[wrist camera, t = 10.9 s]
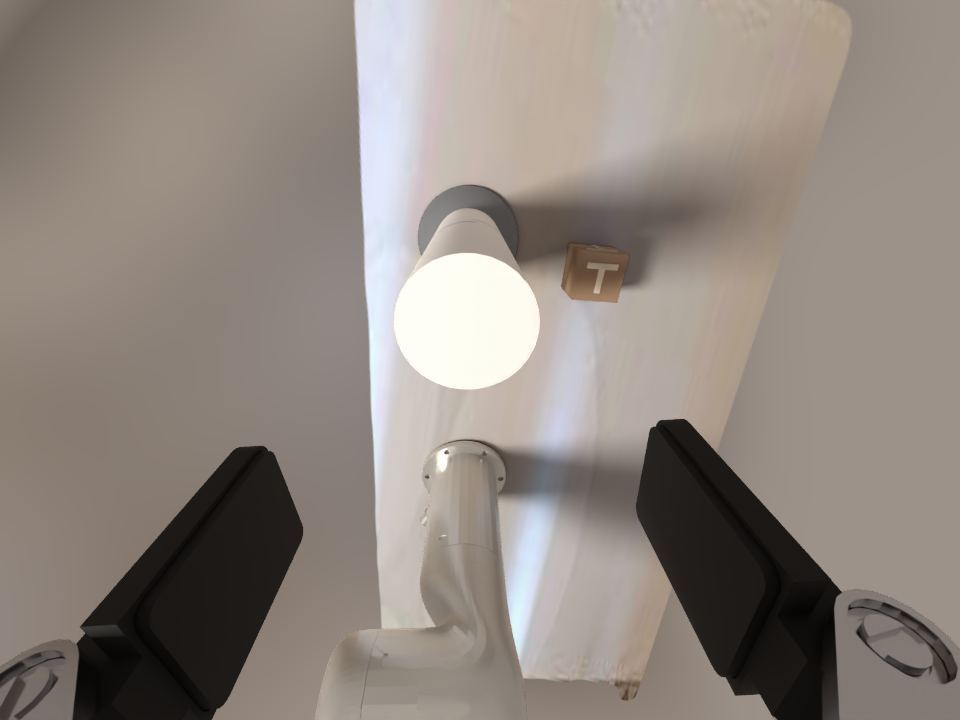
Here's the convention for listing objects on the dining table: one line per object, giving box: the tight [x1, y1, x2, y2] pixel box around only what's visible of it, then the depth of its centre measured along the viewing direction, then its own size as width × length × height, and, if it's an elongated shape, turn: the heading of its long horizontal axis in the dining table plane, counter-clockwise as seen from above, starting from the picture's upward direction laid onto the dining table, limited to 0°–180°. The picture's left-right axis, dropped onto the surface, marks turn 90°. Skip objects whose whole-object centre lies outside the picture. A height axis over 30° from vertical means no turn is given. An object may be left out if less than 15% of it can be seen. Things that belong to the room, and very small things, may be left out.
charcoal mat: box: [418, 185, 518, 258], centre depth 40 cm, size 11×11×1 cm
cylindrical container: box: [394, 208, 540, 389], centre depth 29 cm, size 7×7×25 cm
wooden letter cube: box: [561, 243, 630, 303], centre depth 40 cm, size 5×5×5 cm
